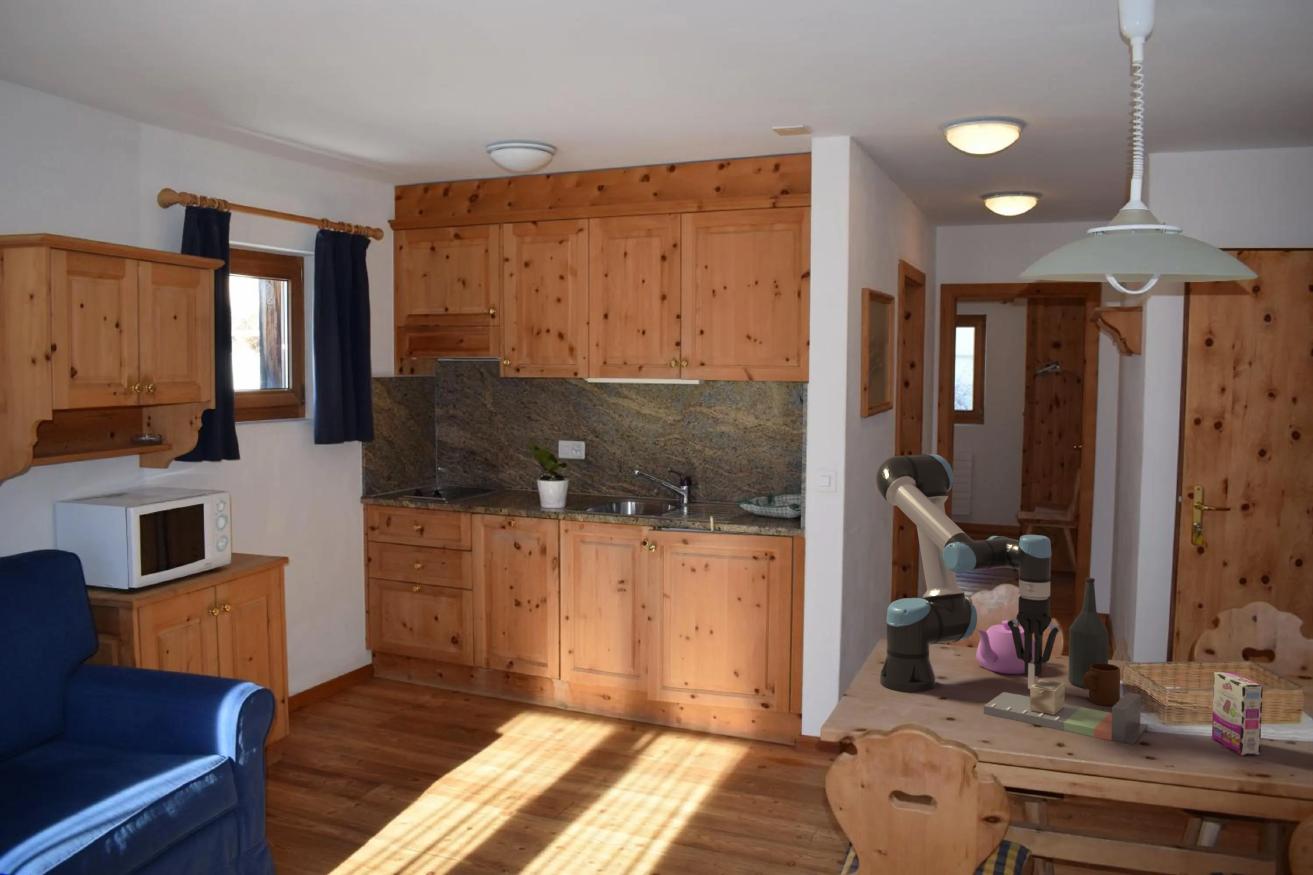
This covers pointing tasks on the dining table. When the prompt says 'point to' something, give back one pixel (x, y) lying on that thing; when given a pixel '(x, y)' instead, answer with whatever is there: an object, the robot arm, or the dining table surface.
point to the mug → (1103, 684)
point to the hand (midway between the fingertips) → (1032, 687)
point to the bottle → (1087, 638)
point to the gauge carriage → (1047, 696)
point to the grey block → (1127, 719)
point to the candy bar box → (1237, 713)
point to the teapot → (1001, 650)
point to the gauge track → (1052, 716)
